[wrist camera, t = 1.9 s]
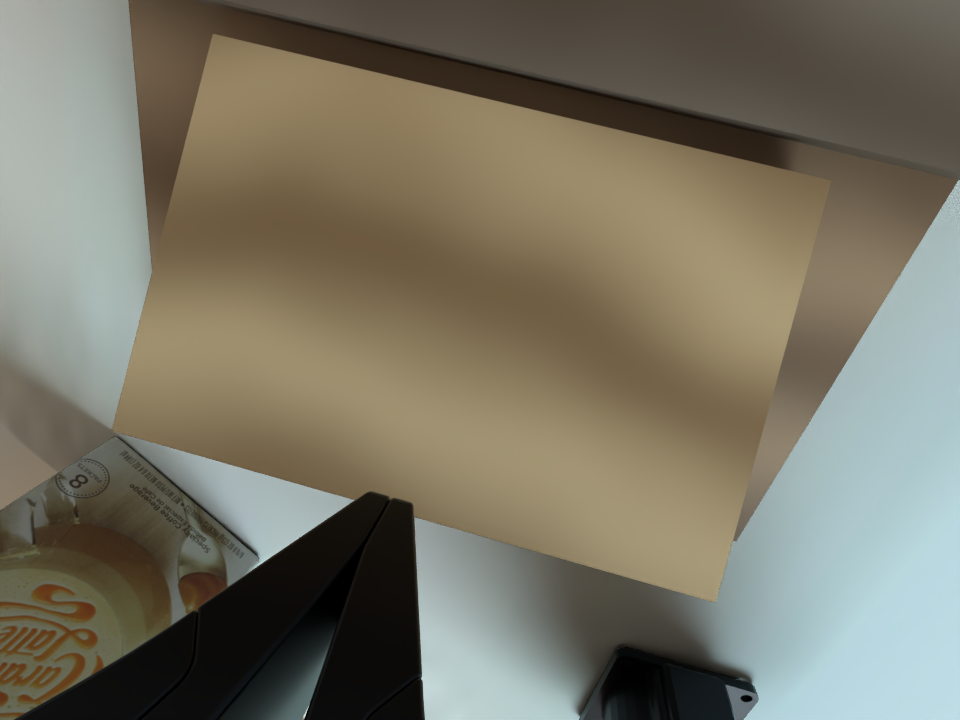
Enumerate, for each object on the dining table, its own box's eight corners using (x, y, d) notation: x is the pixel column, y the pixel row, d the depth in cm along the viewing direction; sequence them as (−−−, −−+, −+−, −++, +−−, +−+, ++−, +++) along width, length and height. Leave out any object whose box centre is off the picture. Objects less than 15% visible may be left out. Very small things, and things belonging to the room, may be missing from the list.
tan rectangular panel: (691, 573, 13) (716, 602, 11) (155, 422, 13) (111, 430, 12) (792, 201, 13) (831, 180, 11) (245, 70, 13) (212, 33, 12)
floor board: (723, 512, 19) (753, 582, 16) (189, 365, 20) (123, 405, 17) (993, 46, 12) (1134, 16, 9) (160, -136, 13) (41, -217, 10)
